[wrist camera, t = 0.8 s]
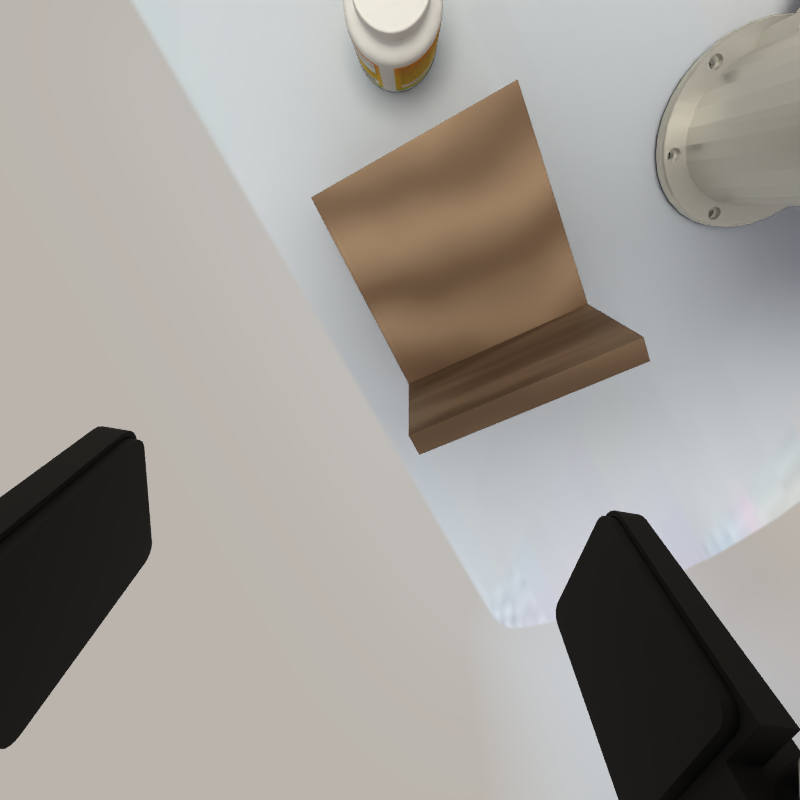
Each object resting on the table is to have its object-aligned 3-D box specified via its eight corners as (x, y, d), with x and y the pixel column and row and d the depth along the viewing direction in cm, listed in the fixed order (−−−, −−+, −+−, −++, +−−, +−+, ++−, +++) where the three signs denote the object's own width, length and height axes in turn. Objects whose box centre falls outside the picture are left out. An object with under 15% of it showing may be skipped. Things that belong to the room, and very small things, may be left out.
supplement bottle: (444, 3, 28) (459, -85, 20) (427, 100, 31) (434, 61, 22) (362, -15, 28) (341, -113, 19) (351, 84, 30) (328, 38, 22)
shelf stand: (327, 197, 33) (276, 197, 21) (498, 100, 31) (561, 31, 18) (416, 371, 39) (419, 454, 27) (566, 304, 36) (649, 360, 24)
